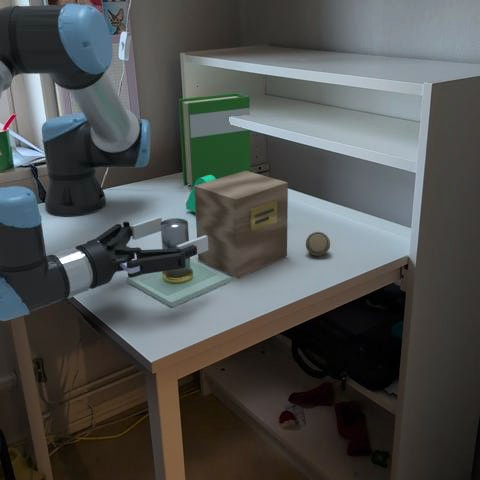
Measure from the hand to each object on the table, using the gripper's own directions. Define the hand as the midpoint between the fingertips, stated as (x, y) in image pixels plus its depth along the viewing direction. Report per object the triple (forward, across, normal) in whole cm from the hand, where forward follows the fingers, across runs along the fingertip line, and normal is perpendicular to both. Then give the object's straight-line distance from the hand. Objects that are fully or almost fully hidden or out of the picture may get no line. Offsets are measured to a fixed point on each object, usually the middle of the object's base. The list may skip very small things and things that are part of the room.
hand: (183, 232), depth 113 cm
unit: (+14, +1, -10) cm, 17 cm away
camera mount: (+28, -23, -10) cm, 37 cm away
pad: (-2, 0, -10) cm, 10 cm away
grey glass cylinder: (-2, 0, -9) cm, 9 cm away
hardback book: (+45, -41, -10) cm, 61 cm away
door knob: (+26, +11, -10) cm, 30 cm away
